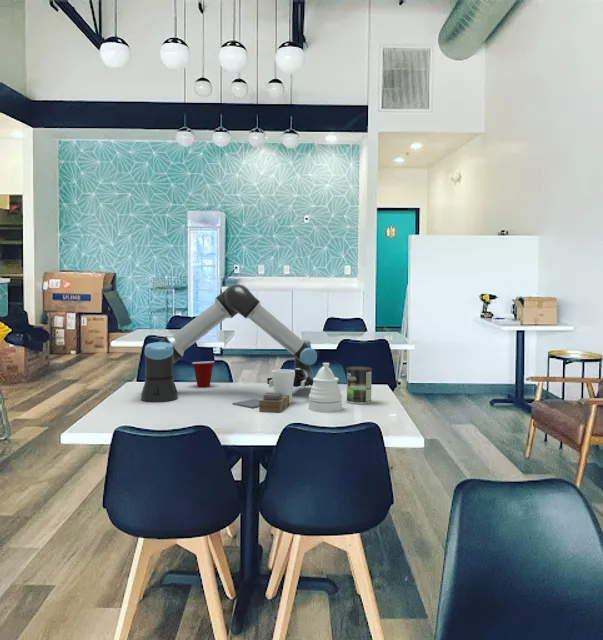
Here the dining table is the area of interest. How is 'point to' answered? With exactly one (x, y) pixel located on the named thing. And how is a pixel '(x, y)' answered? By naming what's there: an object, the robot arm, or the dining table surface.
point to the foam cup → (283, 382)
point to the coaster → (248, 403)
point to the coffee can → (359, 385)
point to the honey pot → (325, 392)
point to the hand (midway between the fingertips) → (285, 384)
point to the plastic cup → (203, 372)
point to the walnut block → (273, 402)
